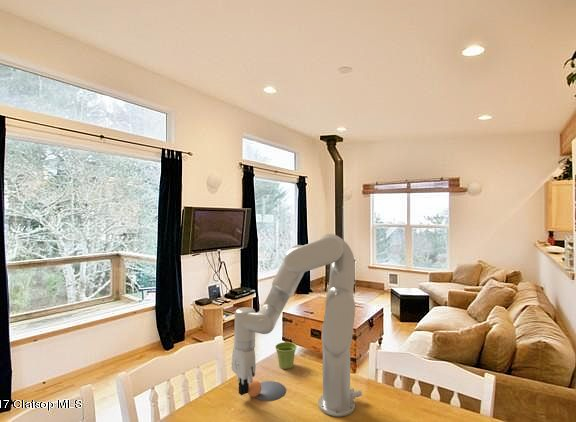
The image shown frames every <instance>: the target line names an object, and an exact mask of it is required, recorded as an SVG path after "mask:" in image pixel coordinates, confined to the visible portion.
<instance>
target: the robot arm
mask: <svg viewBox="0 0 576 422" xmlns="http://www.w3.org/2000/svg"><path fill="white" fill-rule="evenodd" d="M355 262H356V261H355V256H354V254H353V251H352V249H351V247H350V246H349V244H348V242H346V241H345V240H344V238H343V239H342V237H340V236H338V235H336V234H335V233H327V234H325V235H323V236H322V237H320V239H318V240H314V241H312V242H309V243H307V244H304V245H302V244H296V245H293V246H292V247H290V248H289V249H288V250H287V252H286V253H285V255H284V259H283V261H282V263H281V265H280V267H279V269H278V271H277V272H276V274H275V276H274V278H273V279H272V285H271V289H270V290H269V293H268V295H267V297H266V299H265V301H264V303H263V304H262V306H261V308H260V310H258V311H257V312H256V310H255V308H253V307H249V306H248V307H247V306H246V307H245V306H244V307H238V308H237V309H236V310H235V311H234V329H233V330H234V332H233V333H234V334H233V335H234V338H233V347H232V348H233V349H232V355H231V371H232V372H233V373H234V374H235V375H236V376H237V380H238V394H239V395H240V396H244V395H246V394H248V389H249V383H252V382H253V380H254V379H253V378H254V377H255V376H256V371H257V370H256V350H255V347H256V334H261V335H268V334H270V333H272V331H274V328H275V327H276V325H277V322H278V320H279V319H280V316H281V314H282V312H283V311H284V309H285V306H286V305H287V302H288V301H289V299H290V298H291V297H292V296H293V295H294V293H295V291H297V288H298V286H299V284H300V282H301V280H302V278H303V277H304V274H305V273H306V272H308V271H313V270H315V269H318V268H321V267H325V266H327V265H330V269H329V279H328V281H329V282H328V289H327V293H326V297H325V306H324V314H323V315H324V316H323V321H322V322H323V323H322V326H321V327H322V328H321V343H322V395H320V397H319V398H318V409H320V410H321V411H322V412H323V413H325V414H326V415H329V416H331V417H347V416H349V415H350V414H352V413H353V412H354V411H355V409H356V405H355V404H356V403H355V401H354V400H355V399H356V398H359V397H362V396H363V393H362V390H360V389H357V390H355V389H354V388H352V387H351V345H352V340H353V335H354V334H353V333H354V327H355V326H354V325H355V317H356V303H355V298H354V287H355V275H356V264H355Z"/></svg>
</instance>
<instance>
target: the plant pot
mask: <svg viewBox="0 0 576 422" xmlns="http://www.w3.org/2000/svg"><path fill="white" fill-rule="evenodd" d="M274 348H275V351H276V353H277V361H278V366H279V368H280V369H284V370H287V369H289V370H290V369H292V368H293V367H294V360H295V353H296V349H297V344H296V343H294V342H289V341H288V342H286V341H283V342H280V343H277V344H275V346H274Z"/></svg>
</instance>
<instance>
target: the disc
mask: <svg viewBox="0 0 576 422" xmlns="http://www.w3.org/2000/svg"><path fill="white" fill-rule="evenodd" d="M260 384H261V392H260V394H259V395H257V396H255V397H254V399H257V400H259V401H264V402H266V401H267V402H271V401H276V400H278V399H281V398H282V397H284V396H285V394H286V393H287V392H286V391H287V389H286V386H285V385H284V384H282V383H280V382H278V381H272V380H269V381H261V382H260Z"/></svg>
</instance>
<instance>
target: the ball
mask: <svg viewBox="0 0 576 422" xmlns="http://www.w3.org/2000/svg"><path fill="white" fill-rule="evenodd" d="M260 383H261V382H260V381H259V380H257V379H253V382H252V383H249V389H248V393H247V394H248V395H249V396H250V397H254V398H255V396H257V395H259V394H260V392H261V384H260Z"/></svg>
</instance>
